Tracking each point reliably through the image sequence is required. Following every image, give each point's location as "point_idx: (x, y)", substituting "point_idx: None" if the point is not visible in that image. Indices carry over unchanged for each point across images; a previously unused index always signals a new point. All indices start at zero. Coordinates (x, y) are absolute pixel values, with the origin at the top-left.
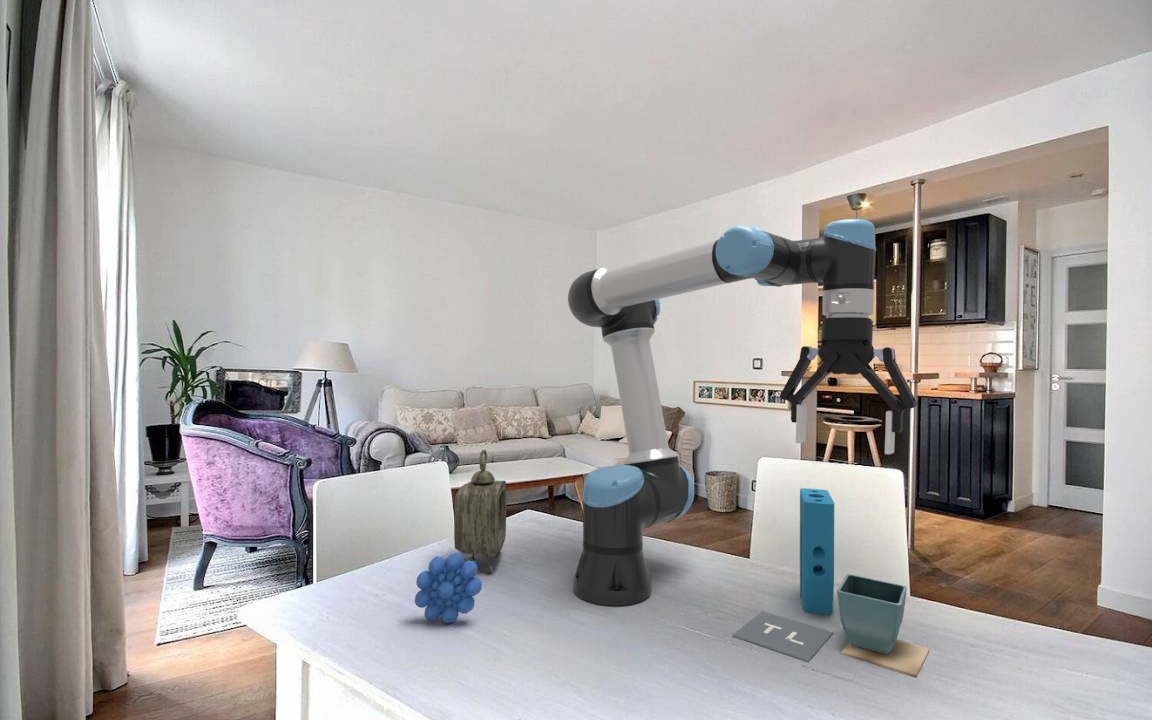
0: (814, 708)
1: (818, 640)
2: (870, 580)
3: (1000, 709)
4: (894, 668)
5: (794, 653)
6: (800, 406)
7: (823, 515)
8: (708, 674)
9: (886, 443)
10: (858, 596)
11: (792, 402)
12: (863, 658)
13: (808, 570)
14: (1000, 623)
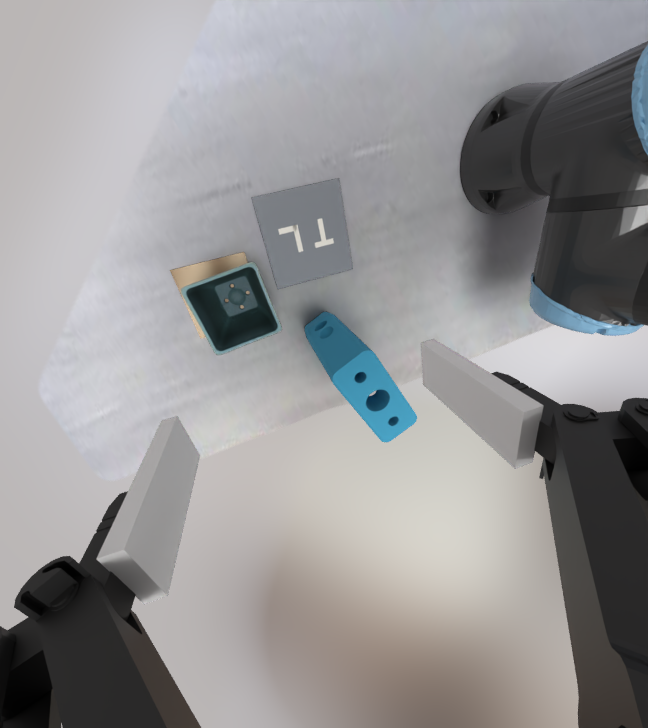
0: (178, 92)
1: (274, 255)
2: (254, 337)
3: (88, 279)
4: (191, 265)
5: (270, 200)
6: (520, 407)
7: (337, 358)
8: (297, 49)
9: (163, 438)
10: (228, 270)
11: (572, 407)
12: (222, 257)
13: (330, 317)
14: (202, 446)
